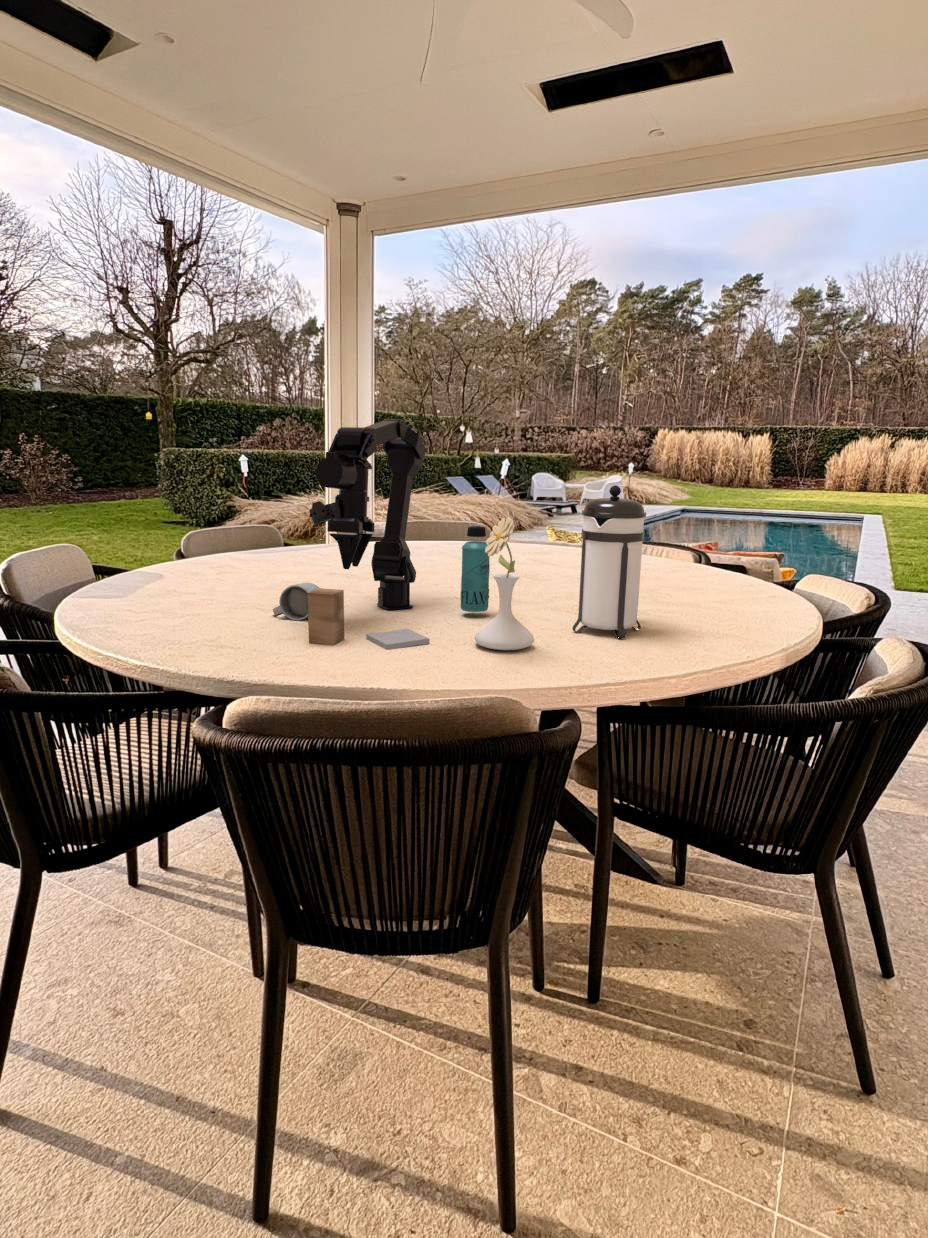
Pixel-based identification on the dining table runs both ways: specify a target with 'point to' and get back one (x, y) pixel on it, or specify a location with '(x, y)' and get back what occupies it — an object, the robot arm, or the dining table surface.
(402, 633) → the upper grey slab
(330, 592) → the walnut post
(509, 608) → the flower in vase
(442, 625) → the dining table surface
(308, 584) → the ceramic mug
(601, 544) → the coffee press
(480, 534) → the beverage bottle
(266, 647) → the dining table surface
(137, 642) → the dining table surface
